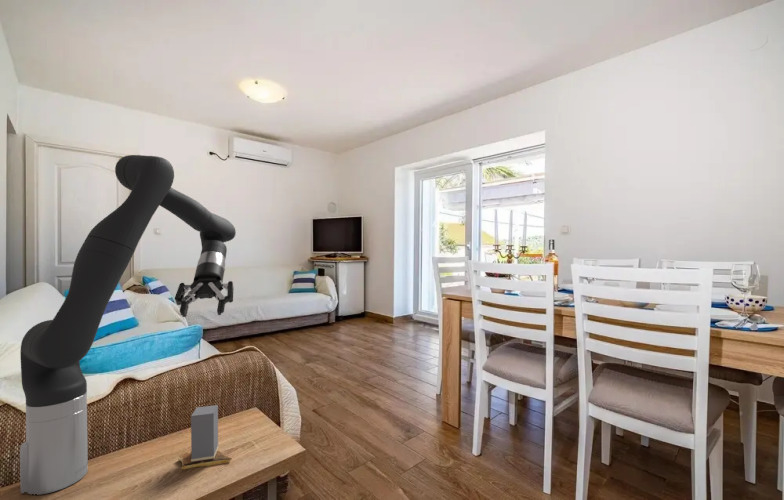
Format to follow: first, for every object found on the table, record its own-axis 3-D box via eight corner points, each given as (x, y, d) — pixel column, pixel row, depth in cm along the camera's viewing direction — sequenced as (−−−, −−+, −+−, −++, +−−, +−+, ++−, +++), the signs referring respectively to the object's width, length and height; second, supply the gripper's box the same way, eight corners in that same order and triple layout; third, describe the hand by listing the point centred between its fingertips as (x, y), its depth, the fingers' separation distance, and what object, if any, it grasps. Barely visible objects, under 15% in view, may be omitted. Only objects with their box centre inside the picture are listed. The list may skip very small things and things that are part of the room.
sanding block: (191, 461, 77) (190, 416, 77) (196, 450, 82) (196, 407, 82) (214, 458, 78) (213, 413, 79) (218, 447, 83) (218, 404, 83)
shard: (232, 465, 79) (231, 457, 79) (197, 484, 72) (196, 475, 72) (206, 450, 85) (206, 442, 85) (172, 466, 79) (172, 458, 79)
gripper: (181, 261, 101) (167, 307, 90) (234, 260, 105) (228, 304, 93) (186, 278, 106) (174, 324, 95) (237, 277, 110) (232, 320, 99)
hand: (201, 314), depth 94 cm, fingers open, 8 cm apart
